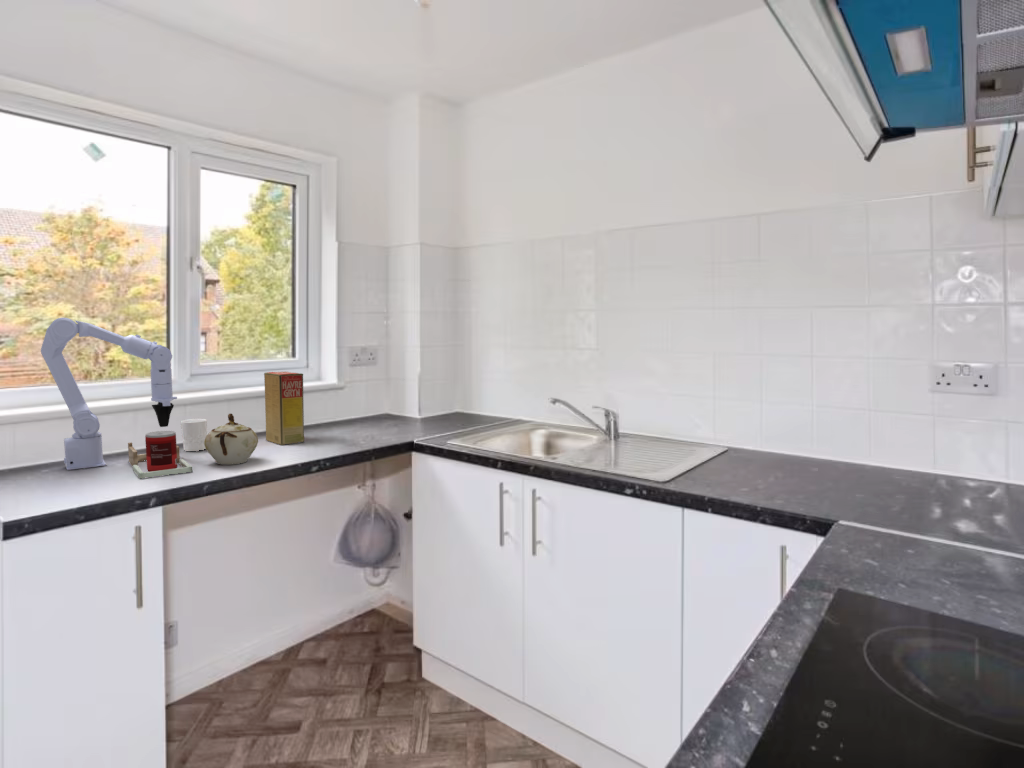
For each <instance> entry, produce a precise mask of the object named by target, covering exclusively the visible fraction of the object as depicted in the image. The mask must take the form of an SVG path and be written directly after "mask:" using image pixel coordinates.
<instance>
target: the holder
mask: <svg viewBox="0 0 1024 768" xmlns="http://www.w3.org/2000/svg"><path fill="white" fill-rule="evenodd" d="M176 446H177V464H179V460H181V458H180V457H181V456H180V453H181V452H180V446H179V445H177V444H176ZM127 448H128V450H127V451H128V462H130V463H129V464H130V465H131V467H132V466H133V465H138V466H139V462H138V461H140V462H145V461H144V460H147V459H146V453H142V454H141V453H140V454H138V450H137V449H136V448H135V447H134V446H133V442H132V441H131V442H128V443H127Z"/></svg>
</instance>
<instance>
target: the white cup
mask: <svg viewBox="0 0 1024 768" xmlns="http://www.w3.org/2000/svg"><path fill="white" fill-rule="evenodd" d="M180 431H181V437H182V440H181V441H182V445H183V451H184V450H185V451H184V452H186V451H196V452H200V451H199V450H203V451H205V450H204V449H206V448H205V445H204V441H205V438H206V436H207V435H208V419H205V418H191V419H184V420H183V419H182V420H181V421H180Z"/></svg>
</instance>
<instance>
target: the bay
mask: <svg viewBox="0 0 1024 768" xmlns="http://www.w3.org/2000/svg"><path fill="white" fill-rule="evenodd" d="M178 464H179V465H180V467H177V468H175V469H167V470H159V471H151V472H148V471H147V472H146V471H144V472H143V470H142V469H141V468H140V466H139V464H138V465H133V467H132V471H133V472H134V474H137V475H138V476H137V475H136V476H137V477H138V479H139V478H145V477H152V478H154V477H153V476H160V477H163V476H162V475H168V476H170V475H169V474H175V475H179V474H178V473H183V474H187V473H186V472H190V473H193V470H194V469H193V466H192V465H191V464H189V463H188V462H187V461H186V460H185V459H183V458H182V459H181V458H180V460H179V463H178ZM145 479H146V478H145Z"/></svg>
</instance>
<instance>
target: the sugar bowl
mask: <svg viewBox="0 0 1024 768" xmlns="http://www.w3.org/2000/svg"><path fill="white" fill-rule="evenodd" d="M227 418H228V419H227V420H228V422H227V423H225V424H223V425H220V426H217V427H216V428H213V429H211V430H210V431H209V433H207V436H206V438H205V441H204V445H205V448H206V450H205V451H207V452H208V454H209V455H210V456H211V457H212V459H213V460H214V461H215V462H216V463H217V464H218V465H222V466H223V465H225V466H226V465H229V466H230V465H231V466H233V465H239V464H240V463H241V464H244V463H246V462H247V461H248V460H249V458H250V457H251V456H252V454H253V453H254V451H255V450H256V448H257V446H258V443H259V438H258V435H257V433H256V432H255V431H254V430H253V429H252V428H251V427H249V426H248V427H247V426H246V425H243V424H241V423H238V422H235V416H234V415H233V413H228V414H227Z"/></svg>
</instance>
